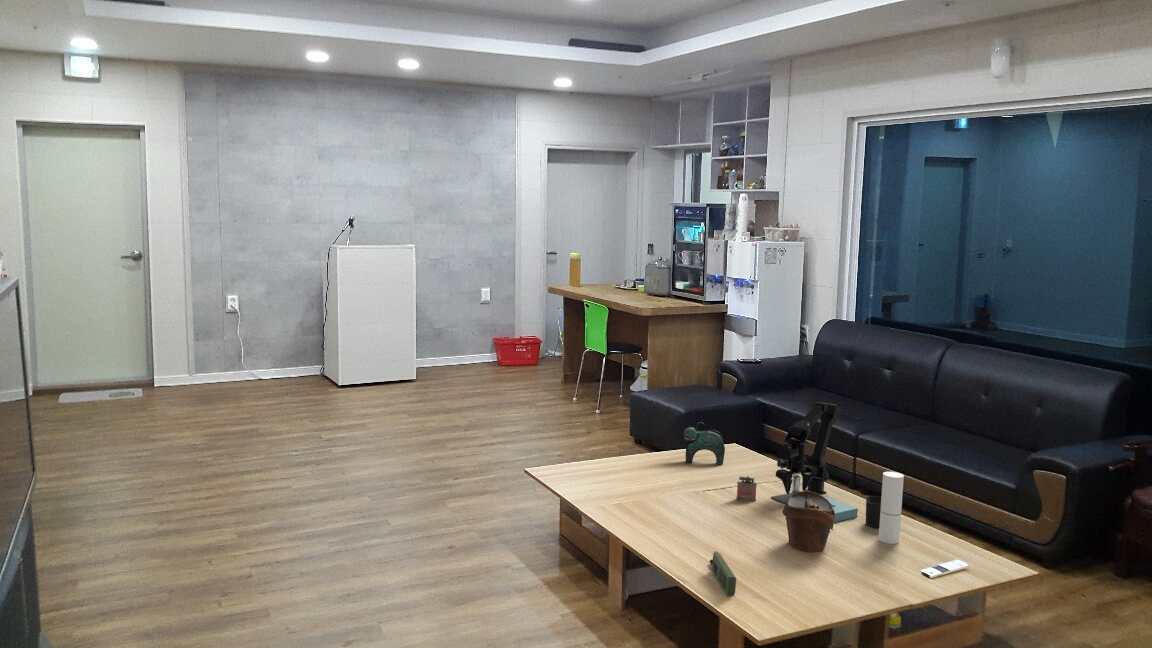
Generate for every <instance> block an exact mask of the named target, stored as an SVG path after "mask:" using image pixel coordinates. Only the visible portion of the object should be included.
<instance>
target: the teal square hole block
mask: <svg viewBox="0 0 1152 648" xmlns="http://www.w3.org/2000/svg"><path fill="white" fill-rule="evenodd" d="M823 497H824V498H826V499H827V500H828V501H829V502H830V503H831V505H832V507H833V509H834V511H835V519H834V523H835V522H841V521H845V520H849V519H854V518H858V513H859V511H858V509H859V508H857V507H855V506H852V505H850V504H847V503H845V502H843V501H839V500H838V499H834V498H832V497H829V496H823Z"/></svg>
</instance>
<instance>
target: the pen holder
mask: <svg viewBox="0 0 1152 648" xmlns="http://www.w3.org/2000/svg"><path fill="white" fill-rule="evenodd" d="M880 511H881V496H877V495H872V496H871V495H870V496H866V499H865V524H866V526H867V527H870V528H874V529H878V530H879V525H880Z"/></svg>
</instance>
